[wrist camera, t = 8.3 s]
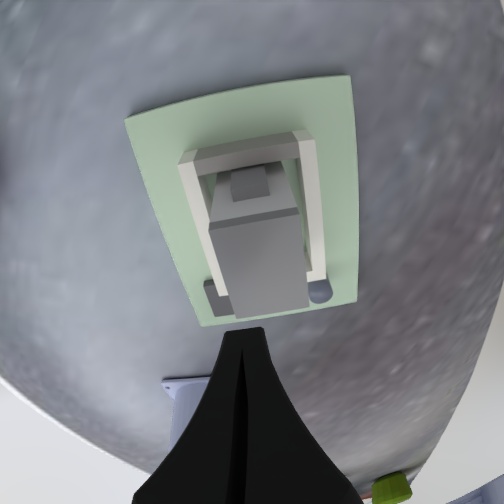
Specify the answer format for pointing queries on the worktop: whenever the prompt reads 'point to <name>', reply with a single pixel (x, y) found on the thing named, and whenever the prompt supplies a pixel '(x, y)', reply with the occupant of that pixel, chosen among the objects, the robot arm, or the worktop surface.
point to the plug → (259, 240)
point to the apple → (391, 489)
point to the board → (247, 154)
